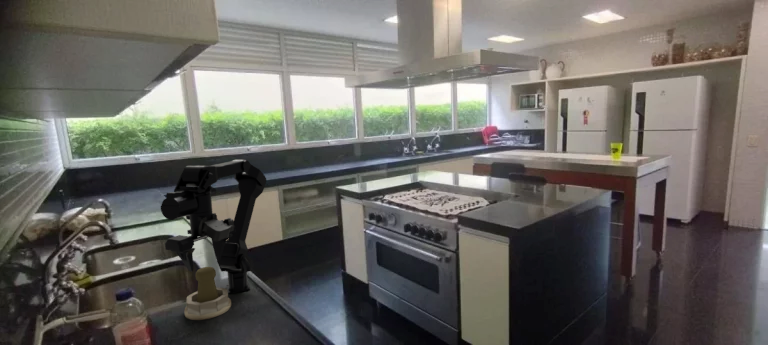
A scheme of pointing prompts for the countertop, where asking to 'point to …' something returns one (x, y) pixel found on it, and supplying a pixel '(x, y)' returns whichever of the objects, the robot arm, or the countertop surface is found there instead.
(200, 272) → the olive brown tapered peg
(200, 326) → the countertop surface
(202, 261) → the countertop surface
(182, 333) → the countertop surface
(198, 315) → the dock socket
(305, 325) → the countertop surface
